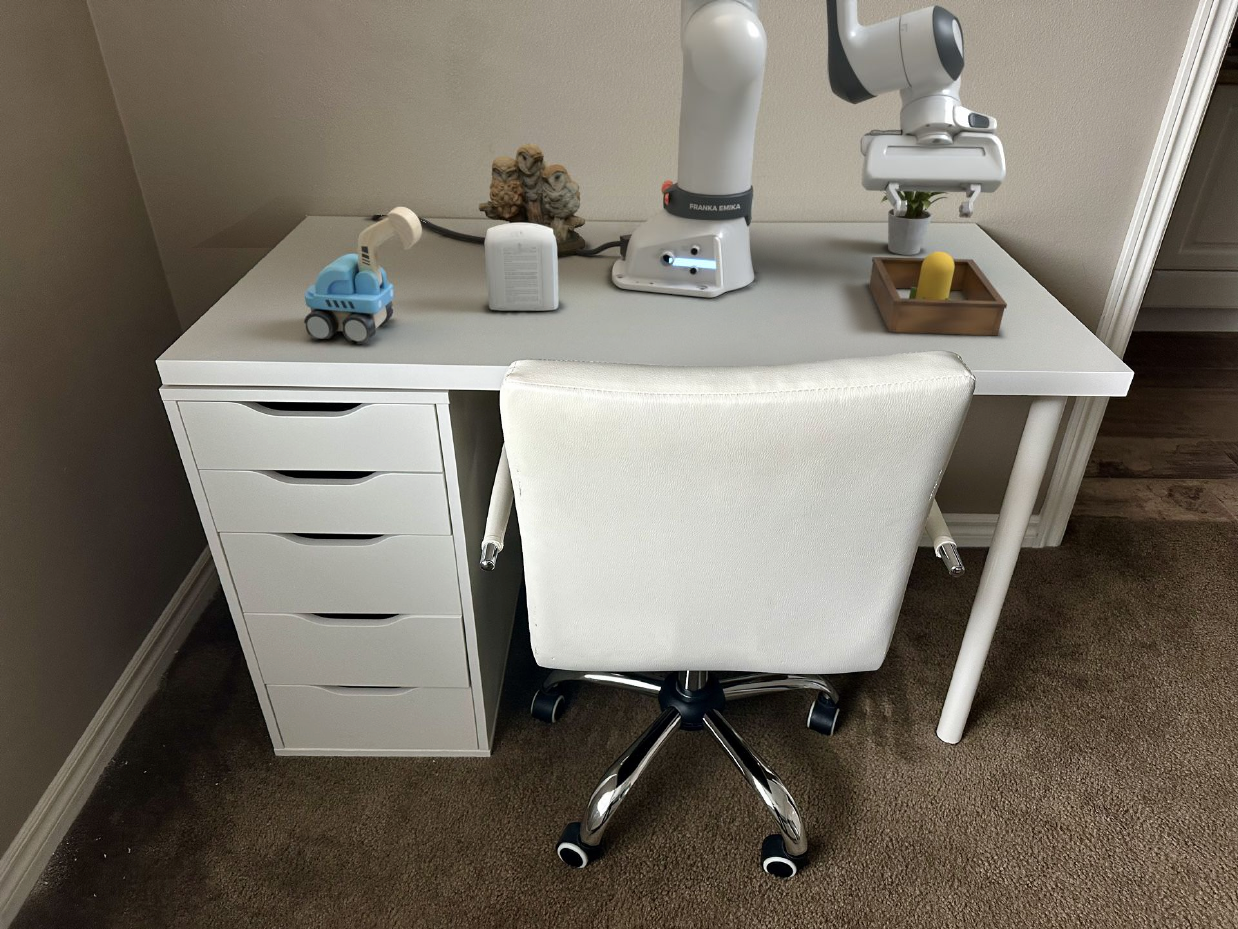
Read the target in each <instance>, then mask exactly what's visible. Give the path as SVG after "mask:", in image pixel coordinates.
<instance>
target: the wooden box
mask: <svg viewBox="0 0 1238 929" xmlns="http://www.w3.org/2000/svg"><path fill="white" fill-rule="evenodd" d="M925 258H926V257H897V256H896V257H895V256H894V257H891V256H872V258H871V261H872V264H871V266H872V267H871V272H870V278H869V279H870V280H869V283H868V284H869V285H868V286H869V289H870V291H871V293H872V296H873V298H874V300H875V302H876V305H877V307H878V309H879V311H880V314H881V316H882V318H883V321H884V323H885V325H886V328H887V330H888V332H889V333H904V334H905V333H906V334H910V333H911V334H937V335H969V336H999V332H1000V328H1001V324H1002V320H1003V316H1004V313H1005V309H1007V307H1008V303H1006V301H1005V300H1004V298H1003V297H1002V296H1001V295H1000V293H999V291H997V289H996V288H995V286H994V285H993V284H992V283H991V282H990V280H989V279H988V278H987V276H986V275H985V274H984V272H983V271H982V270H981V268H980V267H979V265H978V264H977V263H976V261H975V260H974V259H970V258H969V259H968V258H967V259H965V258H952V259H953V261H954V273H953V277H952V282H951V287H950V291H961V292H962V293H963V294H964V296H965V297H966V299H965V300H964V299H952V300H937V299H909V298H904V297H903V298H902V297H901V296H900V295H899V292H898V291H897V289H902V290H903V289H905V290H907V289H909V290H911V287H915V288H918V283H919V278H920V272H921V267H922V263H923V261H924V259H925Z"/></svg>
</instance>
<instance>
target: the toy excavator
mask: <svg viewBox="0 0 1238 929" xmlns="http://www.w3.org/2000/svg"><path fill="white" fill-rule="evenodd" d="M418 217H419V216H417V214H416V213H415V212H414V211H412V210H411V209H410V208H407V207H405V206H396V207H394V208H393V209H391V211H390V212H389V213H387V216H386V217H385V218H384V219H382V220H379V221H378V222H375V223H374V224H372V225H370V226H368V227H366V228H364V229H363V230H362V231H361V232H360V233H359V236H358V239H357V254H356V253H347V254H344V255H341V256H339V257H338V258H336V259H335V260H333V261H332V262H330V263H329V264H328V265H326V266H325V267H323V268H322V269H321V270H320V271H319V273H318V274H317V277H316V280H315V283H313V284H311V285H310V286H309V287H308V289H307V290H305V292H304V299H305V300H304V301H305V305H306V307H308V308H310V312H309V313H308V314H307V315H306V316H305V318H304V321H303V323H304V324H305V331H306V332H307V334H308V336H310V337H311V338H312V339H314V340H317V341H319V340H328V339H330V338H332V336H334V335H335V334H336V333H337V332H342V335H343V336H344V337H345V338H346V339H347V340H349V342H352V341H355V342H356V345H364V344H366V343H367V342H368V341H369V340H370V339H371V338H372V337H373V336H374V335H375V334H376V330H377V329H378V328H379V327H380V326H383V325H385V324H386V323H387V322H388V321H389V320H390V319H391V318H392V317H393V314H394V309H393V302H392V300H393V299H395V291H394V285H393V283H390V282H388V277H387V273H386V270H385V269H384V268H383V267H382V266H380V260H379V254H378V247H379V246H380V245H381V244H383V243H384V242H386V241H387V240H388V239H390V238H391V237H393V236H395V235H397V236H398V238H399V240H400V242H401V244H402V248H403V249H404V250H409V249H410V248H412V247H413V246H415V244H416V243H418V242H419V241H420V239H421V237H422V234H423V227H422V224H421V223H420V221H419V219H418Z"/></svg>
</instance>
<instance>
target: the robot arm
mask: <svg viewBox="0 0 1238 929" xmlns="http://www.w3.org/2000/svg"><path fill="white" fill-rule="evenodd" d="M760 2H761V0H680V39H679V40H680V49H681V54H682V81H681V82H682V83H681V85H682V86H681V98H680V99H681V100H680V113H679V114H680V115H679V125H678V126H679V127H678V128H679V129H678V152H677V153H678V154H677V180H676V181H677V182H676V183H674V182H673V181H672V180H665V181H664V182H663V183H662V184H661V193H662V195H663V196H662V207H663V208H662V209H661V210H659V211H658V212H657V213H656V214H654V215H653V216H651V217H650V218H649V219H647V220H646V221H645V222H643V223H642V224H640V225H639V226H638V227H636V228H635V230H633V232H632V233H629V234H623V235H619V240H613V241H608V242H606V243H603V244H601V245H599V246H597V247H594V248H591V249H585V248H584V249H576V250H575V251H574V253H573V254H574V255H578V256H595V255H598V254H601V253H602V252H604V251H605V250H608V249H613V248H619V255H621V256H620V257H619V258H617V260H615V261H614V264H613V266H612V270H611V280H612V282H613V285H615V286H616V287H618V288H620V289H624V290H631V291H641V292H651V293H661V294H672V295H680V296H690V297H699V298H715V297H718V296H721V295H722V294H724V293H726V292H730V291H734V290H738V289H742V288H744V287H746V286H748V285H750V284H751V283H752V282H753V281H754V280H755V272H754V268H753V262H752V256H751V243H750V242H751V241H750V225H751V222H752V220H753V212H754V200H755V199H754V198H755V194H754V187H753V185H752V178H753V177H752V176H753V164H754V150H755V139H756V129H757V123H758V118H759V112H760V106H761V100H762V94H763V85H764V78H765V69H766V62H767V53H768V38H767V34H766V30H765V28H764V25H763V23H762V22H761V20H760V19H759V18H760V5H761V3H760ZM825 2H826V21H827V60H826V74H827V80H828V83H829V87H830V89H831V92H832V94H834V95H835V96H836V97H838V98H840V99H841V100H842V101H845V102H846V103H849V104H852V105H857V104H861V103H862V102H866V101H868V100H869V101H870V100H871V99H874V98H877V97H878V96H880V95H885V94H889V93H892V92H895V91H899V97H900V99H901V108H900V112H899V129H885V130H881V129H871V130H870V132H867V133H864V134H863V135H862V137H861V138H860V153H861V154H862V156H863V158H864V159H863V164H862V170H861V181H860V182H861V183H860V184H861V186H862V187H863V188H864V189H865V191H869V192H870V191H874V192H885V193H886V194H885V196H886V197H887V199H888V202H889V203H890V205H891V206H892V207H893V209H894V216H905V214H906V212H907V207H906V205H907V201H902V200H901V199H900V197H899V196H898V194H897V191H901V192H903V191H914V192H916V191H924V192H946V193H965V196H966V198H967V199H968V201H962V202H961V205H959V207H958V212H959V214H958V216H959V218H962V219H963V218H964V219H966V218H967V219H970V218H971V217H972V216H973V214H974V202H975V201H976V199H977V198H978V196H979V194H980V193H984V194H985V193H988V194H989V193H991V194H992V193H995V192H996V191H997V190H998V189H999V188H1000V187H1001V185H1002V184H1003V183H1004V181H1005V179H1006V176H1007V167H1006V166H1007V165H1006V158H1005V157H1006V156H1005V152H1004V147H1003V143H1002V141H1001V140H1000V138H999V137H998V136H997V135H996V134H995V133H996V130H997V128H998V122H997V119H996V118H995V117H993V116H990V115H987V114H983V113H980V112H977V111H975V110H971V109H969V108H966V107H964V106H963V105H962V104H963V103H962V101H961V98H960V95H959V94H960V90H961V84H962V72H963V70H964V68H965V44H964V43H965V42H964V33H963V29H962V25H961V23H960V20H959V18H958V17H957V16H956V15H955V14H953V13H952V12H951V11H950V10H948V9H946V8H945V7H943V6H941V5H932V6H927V7H923V8H919V9H916V10H912V11H910V12H907V13H904V14H901V15H899V16H896V17H892V18H889V19H886V20H883V21H880V22H876V23H873V24H870V25H861V24H860V23H859V19H858V0H825ZM382 217H387V215H382V216H381V215H375V214H373V215H372V216H371V219H370V220H371V221H378V220H379V219H380V218H382ZM417 217H418V219H419V221H420V223H421V225H423V226H424V227H426V228H428V229H431V230H432V231H434V232H438V233H439V234H443V235H445V236H449V237H451V238H456V239H459V240H462V241H463V240H464V241H468V242H473V243H479V244H484V243H485V238H486V236H484V237H483V236H477V235H472V234H466V233H462V232H457V231H454V230H451V229H448V228H445V227H442V226H439V225H437V224H435V223H433V222H430V221H428V220H427V219H424V218H423V217H419V216H417ZM421 220H422V221H421ZM423 221H425V222H426V223H425V222H423Z"/></svg>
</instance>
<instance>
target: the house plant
mask: <svg viewBox="0 0 1238 929" xmlns="http://www.w3.org/2000/svg"><path fill="white" fill-rule="evenodd" d="M884 194H885V195H884V196H883V197H882V199H881V201H880V204H882V203H883V202H886V201H887V200H888V199H887V197H886V192H884ZM897 194H898V196H899V197H900V199H901V200H902V201H907V205H906V207H907V212H906V214H905V216H894V208H892V209H890V210H888V214H887V234H888V235H887V249H888V251H889V252H891V253H894V254H898V255H904V256H905V255H906V256H911V255H912V256H913V255H917V254H919V253H920V251H921V249H922V246H923V244H924V240H925V237H926V235H927V231H928V229H929V226H930V223H931V221H932V218H933V214H932V213H931V212H929V211H928V209H929V207H931V205H932V204H934V203H935V202H937V201H939V200H941V199H942V200H943V199H948V197H947V196H940V197H938V198H935V199H933V200H932V201H930V199H931V198H932V197H934V196H938V195H943V194H947V192H924V191H897ZM888 201H889V200H888ZM924 207H925V208H924Z"/></svg>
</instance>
